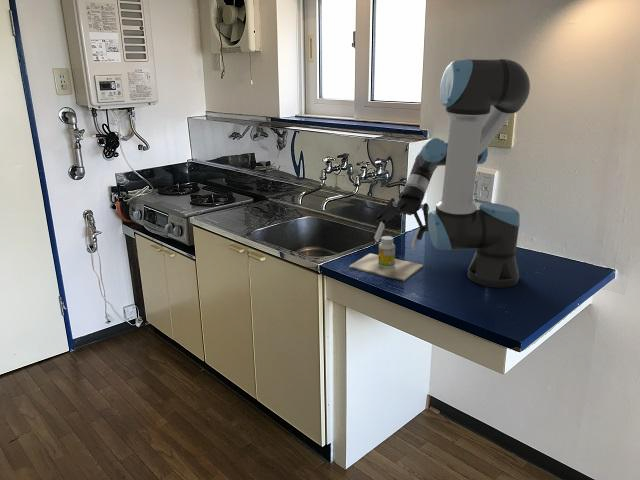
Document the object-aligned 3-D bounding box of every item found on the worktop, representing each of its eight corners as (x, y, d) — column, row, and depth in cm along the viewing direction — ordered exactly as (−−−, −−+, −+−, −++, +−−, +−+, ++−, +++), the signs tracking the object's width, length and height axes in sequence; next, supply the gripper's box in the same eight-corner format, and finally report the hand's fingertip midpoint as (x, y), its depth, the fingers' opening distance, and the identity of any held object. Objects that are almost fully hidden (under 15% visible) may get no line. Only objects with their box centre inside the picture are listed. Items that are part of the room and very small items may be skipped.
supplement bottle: (394, 268, 168) (396, 240, 165) (378, 268, 168) (379, 240, 165) (394, 262, 173) (395, 235, 170) (377, 262, 173) (378, 235, 170)
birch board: (422, 266, 171) (423, 264, 171) (404, 280, 160) (404, 279, 160) (369, 254, 182) (369, 253, 181) (349, 267, 171) (349, 265, 171)
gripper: (451, 201, 177) (431, 255, 170) (385, 191, 190) (365, 242, 183) (446, 189, 171) (426, 245, 164) (379, 180, 184) (358, 232, 177)
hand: (394, 243), depth 174 cm, fingers open, 13 cm apart
